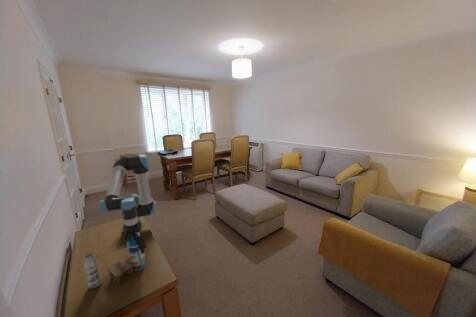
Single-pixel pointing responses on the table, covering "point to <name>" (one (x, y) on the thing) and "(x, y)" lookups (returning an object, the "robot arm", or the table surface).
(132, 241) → the blue lidded jar
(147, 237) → the table surface
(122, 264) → the brown piece
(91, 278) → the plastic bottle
